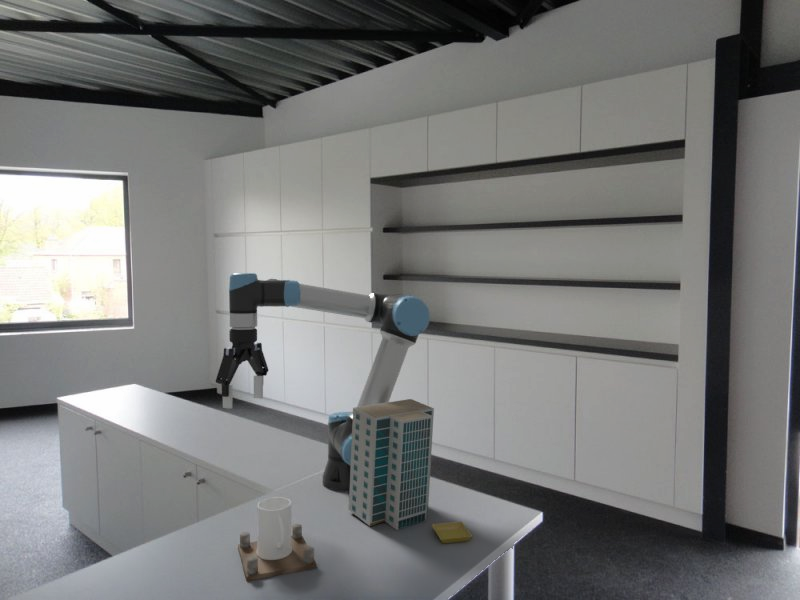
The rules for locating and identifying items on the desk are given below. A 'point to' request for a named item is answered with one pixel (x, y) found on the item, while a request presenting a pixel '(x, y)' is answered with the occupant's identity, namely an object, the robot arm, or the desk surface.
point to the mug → (274, 528)
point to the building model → (391, 462)
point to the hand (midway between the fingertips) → (243, 402)
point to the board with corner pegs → (263, 568)
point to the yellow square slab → (452, 532)
